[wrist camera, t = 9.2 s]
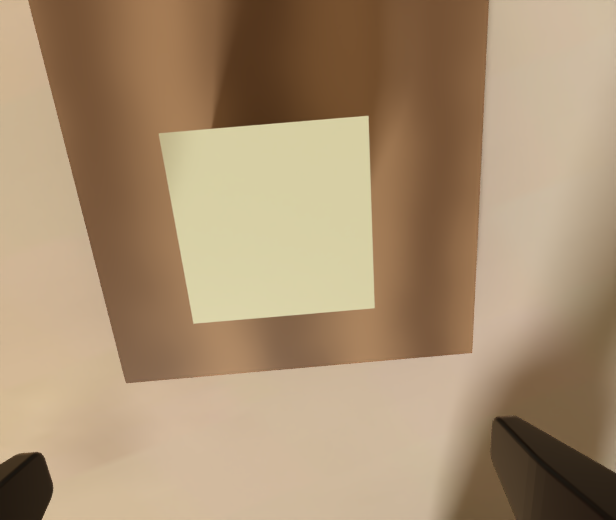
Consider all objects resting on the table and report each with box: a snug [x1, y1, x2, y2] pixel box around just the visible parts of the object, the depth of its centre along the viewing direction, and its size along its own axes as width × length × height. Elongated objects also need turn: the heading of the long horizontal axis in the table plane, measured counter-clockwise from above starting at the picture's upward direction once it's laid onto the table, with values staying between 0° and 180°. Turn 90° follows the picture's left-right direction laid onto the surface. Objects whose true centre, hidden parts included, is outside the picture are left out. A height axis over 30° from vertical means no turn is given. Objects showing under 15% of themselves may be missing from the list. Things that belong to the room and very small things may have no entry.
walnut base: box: [28, 0, 489, 383], centre depth 17 cm, size 16×16×3 cm
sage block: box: [159, 116, 375, 324], centre depth 13 cm, size 5×5×6 cm
